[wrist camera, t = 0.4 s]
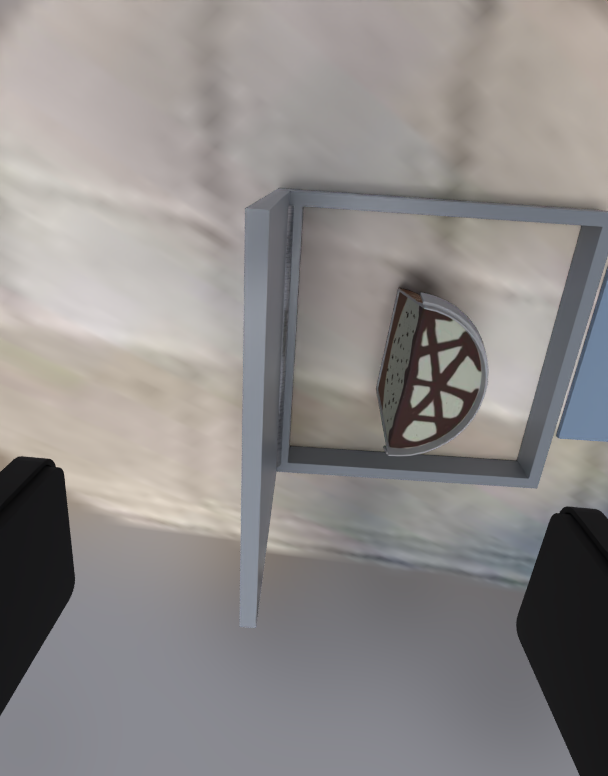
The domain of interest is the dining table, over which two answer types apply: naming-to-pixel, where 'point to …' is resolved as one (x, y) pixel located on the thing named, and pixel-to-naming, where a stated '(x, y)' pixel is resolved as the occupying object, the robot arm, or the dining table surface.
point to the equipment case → (277, 353)
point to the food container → (429, 374)
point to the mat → (590, 381)
